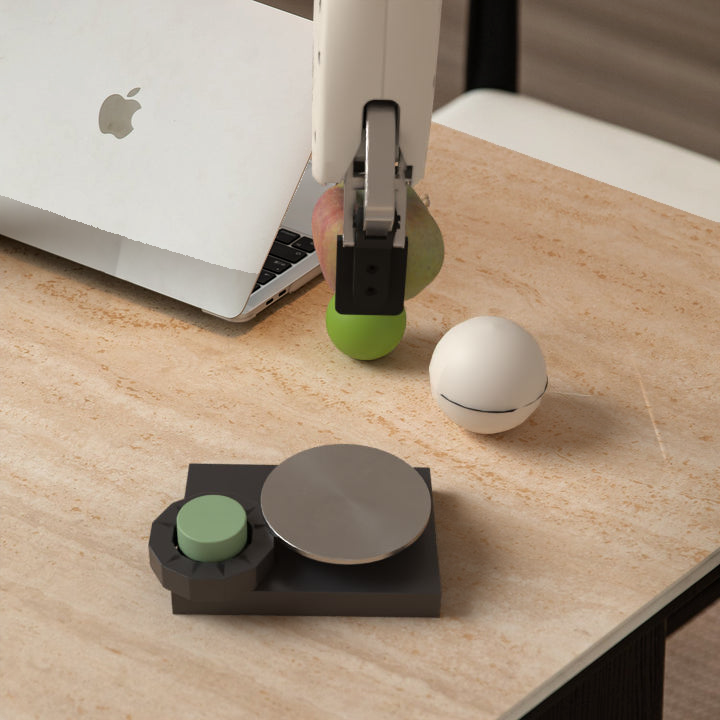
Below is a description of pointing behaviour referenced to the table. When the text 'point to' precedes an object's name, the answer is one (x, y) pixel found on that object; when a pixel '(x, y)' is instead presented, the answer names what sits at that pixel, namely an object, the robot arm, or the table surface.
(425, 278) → the apple
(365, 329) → the snail figurine
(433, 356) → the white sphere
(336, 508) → the weighing pan
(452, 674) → the table surface
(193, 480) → the scale
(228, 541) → the tare button
